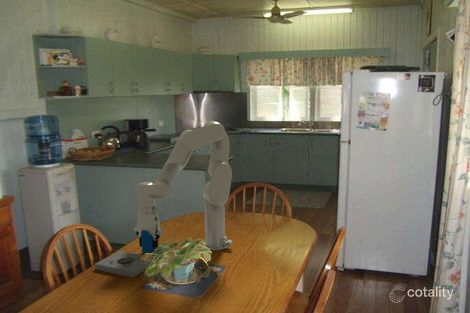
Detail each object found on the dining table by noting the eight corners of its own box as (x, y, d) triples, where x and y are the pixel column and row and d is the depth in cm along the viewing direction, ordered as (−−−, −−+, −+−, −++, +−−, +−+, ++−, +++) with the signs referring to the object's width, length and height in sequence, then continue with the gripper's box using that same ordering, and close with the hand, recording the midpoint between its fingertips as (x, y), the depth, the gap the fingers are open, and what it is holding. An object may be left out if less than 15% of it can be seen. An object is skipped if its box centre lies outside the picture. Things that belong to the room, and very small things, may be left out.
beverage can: (153, 256, 191) (151, 230, 190) (139, 255, 193) (138, 230, 191) (158, 251, 198) (157, 226, 196) (145, 250, 199) (144, 225, 197)
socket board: (156, 263, 184) (156, 257, 183) (132, 277, 170) (132, 271, 169) (120, 256, 192) (120, 250, 192) (95, 269, 178) (94, 263, 178)
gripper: (167, 209, 192) (169, 246, 194) (137, 205, 199) (139, 241, 202) (157, 213, 185) (159, 252, 188) (126, 209, 192) (128, 246, 195)
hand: (148, 246), depth 195 cm, fingers open, 6 cm apart
